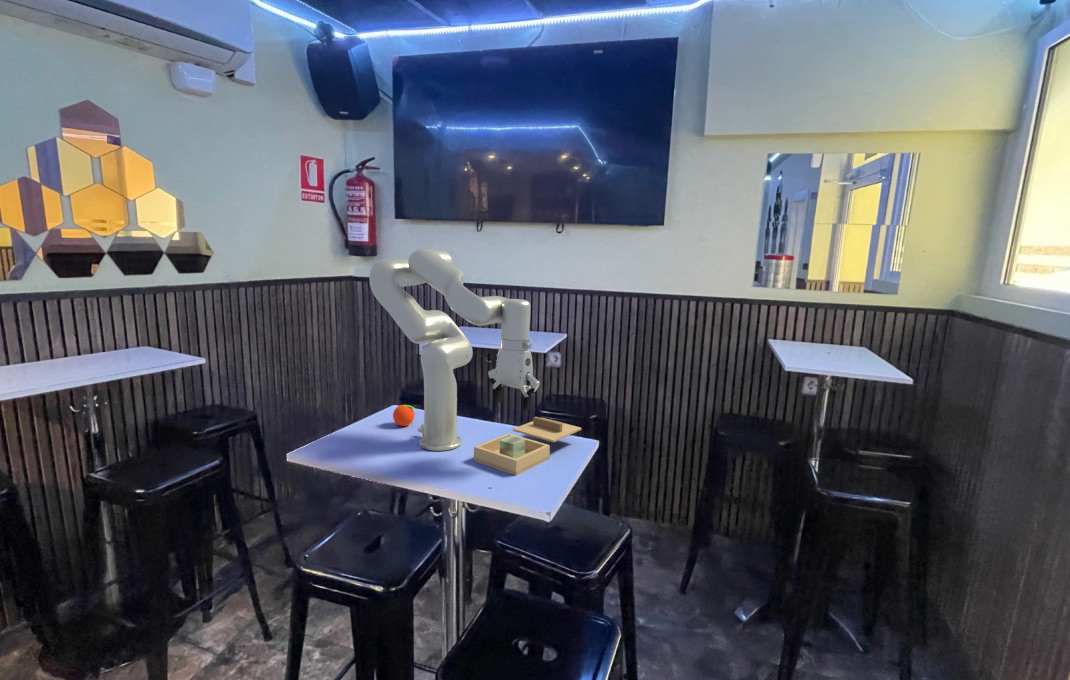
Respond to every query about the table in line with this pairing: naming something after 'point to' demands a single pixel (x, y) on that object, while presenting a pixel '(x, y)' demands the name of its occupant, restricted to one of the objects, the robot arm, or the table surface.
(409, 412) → the clementine
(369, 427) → the table surface
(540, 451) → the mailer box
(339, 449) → the table surface
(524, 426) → the mailer lid
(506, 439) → the green block
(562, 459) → the table surface
